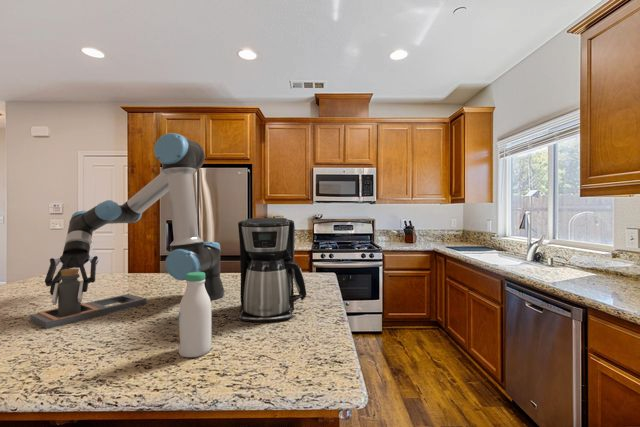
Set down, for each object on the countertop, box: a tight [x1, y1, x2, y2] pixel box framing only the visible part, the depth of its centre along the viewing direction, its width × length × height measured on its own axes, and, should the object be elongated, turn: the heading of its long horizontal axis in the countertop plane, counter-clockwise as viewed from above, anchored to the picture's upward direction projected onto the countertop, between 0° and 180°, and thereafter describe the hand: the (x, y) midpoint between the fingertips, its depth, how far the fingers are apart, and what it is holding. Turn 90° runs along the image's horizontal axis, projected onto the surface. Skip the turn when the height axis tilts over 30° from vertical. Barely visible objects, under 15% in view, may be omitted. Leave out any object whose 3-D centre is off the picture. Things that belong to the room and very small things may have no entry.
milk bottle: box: [178, 272, 212, 358], centre depth 77 cm, size 8×8×20 cm
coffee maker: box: [237, 217, 307, 323], centre depth 112 cm, size 23×32×34 cm
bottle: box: [57, 268, 82, 318], centre depth 101 cm, size 6×6×15 cm
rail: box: [29, 293, 147, 330], centre depth 107 cm, size 13×30×2 cm, turn 149°
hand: (66, 301), depth 98 cm, fingers closed on bottle, 6 cm apart
